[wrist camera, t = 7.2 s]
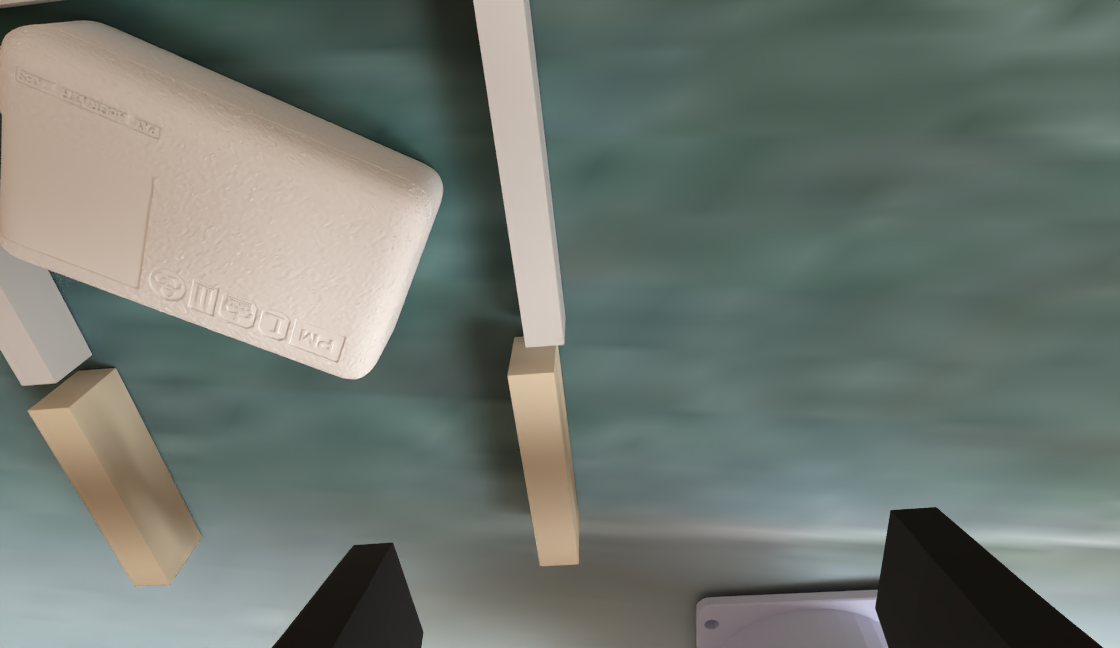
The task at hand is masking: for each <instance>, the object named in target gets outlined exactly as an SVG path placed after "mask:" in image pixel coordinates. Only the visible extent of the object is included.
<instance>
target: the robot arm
mask: <svg viewBox="0 0 1120 648" xmlns="http://www.w3.org/2000/svg"><path fill="white" fill-rule="evenodd" d="M422 638H423V630H422V627H421V624H420V621H419V618H418V615H417V612H416V609H415V606H414V603H413V600H412V597H411V594H410V591H409V588H408V585H407V583H406V580H405V577H404V574H403V571H402V568H401V565H400V562H399V559H398V556H397V553H396V550H395V547H394V544H393V543H380V544H365V545H354V546H353V547H352V548H351V549H350V550H349V552H348V553H347V554H346V555H345V556H344V558H343V559H342V560H341V561H340V563H339V564H338V565H337V566H336V568H335V569H334V570H333V571H332V573H331V574H330V575H329V577H328V578H327V579H326V580H325V582H324V583H323V584H322V585H321V587H320V588H319V589H318V591H317V592H316V593H315V594H314V596H313V597H312V598H311V600H310V601H309V602H308V603H307V605H306V606H305V607H304V608H303V610H302V611H301V612H300V613H299V615H298V616H297V617H296V618H295V620H294V621H293V622H292V624H291V625H290V626H289V627H288V629H287V630H286V631H285V632H284V634H283V635H282V636H281V637H280V638H279V640H278V641H277V642H276V643H275V645H274V646H273V647H272V648H421V645H422ZM696 648H1103V647H1102V646H1101V645H1099V644H1098V643H1097V642H1096V641H1094V640H1093V639H1092V638H1091V637H1089V636H1088V635H1087V634H1086V633H1084V632H1083V631H1082V630H1081V629H1080V628H1078V627H1077V626H1076V625H1075V624H1073V623H1072V622H1071V621H1070V620H1068V619H1067V618H1066V617H1065V616H1064V615H1062V614H1061V613H1060V612H1059V611H1057V610H1056V609H1055V608H1054V607H1053V606H1051V605H1050V604H1049V603H1048V602H1047V601H1045V600H1044V599H1043V598H1042V597H1041V596H1039V595H1038V594H1037V593H1036V592H1035V591H1034V590H1032V589H1031V588H1030V587H1029V586H1028V585H1026V584H1025V583H1024V582H1023V581H1022V580H1021V579H1019V578H1018V577H1017V576H1016V575H1015V574H1014V573H1012V572H1011V571H1010V570H1009V569H1008V568H1006V567H1005V566H1004V565H1003V564H1002V563H1001V562H999V561H998V560H997V559H996V558H995V557H994V556H992V555H991V554H990V553H989V552H988V551H987V550H986V549H984V548H983V547H982V546H981V545H980V544H979V543H977V542H976V541H975V540H974V539H973V538H972V537H970V536H969V535H968V534H967V533H966V532H965V531H963V530H962V529H961V528H960V527H959V526H958V525H956V524H955V523H954V522H953V521H952V520H951V519H949V518H948V517H947V516H946V515H945V514H943V513H942V512H941V511H940V510H939V509H938V508H936V507H933V508H917V509H902V510H891V511H890V518H889V524H888V530H887V536H886V543H885V549H884V555H883V561H882V568H881V574H880V580H879V586H878V590H857V591H835V592H813V593H791V594H769V595H747V596H725V597H708V598H704V599H702V600H700V601H699V602H698V603H697V606H696Z"/></svg>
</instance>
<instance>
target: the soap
mask: <svg viewBox="0 0 1120 648" xmlns="http://www.w3.org/2000/svg"><path fill="white" fill-rule="evenodd" d="M0 48H1V49H0V113H2V138H1V188H0V244H1V246H2V247H3V248H4V249H5V250H6V251H7V252H9V254H11V255H13V256H15V257H17V258H18V259H22V260H24V261H26V262H29V263H32V264H34V265H37V266H40V267H43V268H45V269H48V270H50V271H54V272H56V273H59V274H62V275H64V276H67V277H70V278H72V279H75V280H77V281H80V282H83V283H86V284H89V285H91V286H94V287H97V288H99V289H102V290H105V291H107V292H109V293H113V294H116V295H118V296H121V297H123V298H127V299H129V300H132V301H134V302H137V303H140V304H142V305H145V306H148V307H150V308H154V309H156V310H158V311H160V312H165V313H167V314H169V315H173V316H176V317H177V318H181V319H183V320H186V321H187V322H192V323H194V324H197V325H200V326H202V327H205V328H208V329H210V330H212V331H214V332H218V333H221V334H224V335H226V336H230V337H232V338H235V339H237V340H240V341H242V342H246V343H249V344H251V345H253V346H256V347H259V348H263V349H264V350H267V351H271V352H273V353H276V354H279V355H281V356H284V357H287V358H289V359H292V360H295V361H298V362H300V363H302V364H305V365H308V366H311V367H313V368H316V369H319V370H322V371H324V372H327V373H330V374H333V375H336V376H338V377H341V378H345V379H357V378H358V379H359V378H361V377H363V376H365V375H366V374H367V373H369V372H370V371H371V370H372V368H373V367H374V366H375V364H376V363H377V361H378V359H379V357H380V355H381V353H382V351H383V349H384V347H385V346H386V344H387V342H388V340H389V338H390V336H391V334H392V332H393V330H394V328H395V325H396V322H397V320H398V317H399V314H400V312H401V309H402V306H403V304H404V301H405V298H406V295H407V293H408V290H409V287H410V284H411V282H412V279H413V277H414V274H415V271H416V269H417V266H418V263H419V260H420V257H421V255H422V252H423V250H424V247H425V244H426V242H427V238H428V236H429V233H430V231H431V228H432V225H433V223H434V220H435V217H436V214H437V211H438V209H439V206H440V203H441V199H442V196H443V184H442V181H441V178H440V176H439V175H438V173H437V172H436V171H435V170H434V169H432V168H431V167H429V166H427V165H426V164H423V163H422V162H419V161H417V160H415V159H413V158H411V157H408V156H406V155H403V154H401V153H399V152H397V151H394V150H392V149H390V148H387V147H385V146H383V145H381V144H379V143H376V142H374V141H371V140H369V139H367V138H365V137H363V136H361V135H358V134H355V133H354V132H351V131H349V130H346V129H344V128H342V127H340V126H337V125H335V124H333V123H331V122H328V121H326V120H324V119H322V118H319V117H316V116H315V115H312V114H310V113H308V112H305V111H303V110H301V109H299V108H296V107H294V106H292V105H289V104H287V103H285V102H283V101H280V100H278V99H276V98H274V97H272V96H269V95H267V94H264V93H262V92H259V91H258V90H255V89H253V88H250V87H248V86H246V85H244V84H241V83H239V82H237V81H234V80H232V79H230V78H227V77H225V76H223V75H221V74H218V73H216V72H214V71H211V70H210V69H207V68H205V67H202V66H200V65H198V64H196V63H193V62H191V61H189V60H186V59H184V58H182V57H179V56H177V55H175V54H173V53H171V52H168V51H166V50H164V49H161V48H159V47H156V46H155V45H152V44H150V43H147V42H145V41H143V40H141V39H139V38H136V37H134V36H131V35H130V34H127V33H125V32H122V31H120V30H118V29H116V28H113V27H111V26H108V25H105V24H103V23H100V22H95V21H89V20H88V21H85V20H82V21H71V22H59V23H48V24H33V25H28V26H22V27H18V28H16V29H14V30H12V31H11V32H8V34H7V35H5V37H4V39H3V41H2V45H1V46H0Z"/></svg>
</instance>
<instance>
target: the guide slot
mask: <svg viewBox="0 0 1120 648" xmlns="http://www.w3.org/2000/svg"><path fill="white" fill-rule="evenodd" d="M507 376H508V382H509V388H510V394H511V400H512V406H513V411H514V417H515V423H516V429H517V435H518V441H519V447H520V452H521V458H522V464H523V470H524V476H525V482H526V487H527V493H528V499H529V505H530V511H531V517H532V523H533V528H534V534H535V540H536V546H537V552H538V558H539V563H540V566H556V565H576V564H579V511H578V503H577V495H576V487H575V479H574V471H573V463H572V455H571V446H570V438H569V430H568V422H567V414H566V406H565V398H564V390H563V382H562V373H561V365H560V357H559V349H558V345H554V346H541V347H527V348H526V346H525V340H524V336H522V337H514V343H513V348H512V354H511V359H510V364H509V370H508V375H507ZM28 412H29V414H30V416H31V417H32V419H33V421H34V422H35V424H36V426H37V427H38V429H39V430H40V432H41V434H42V435H43V437H44V439H45V440H46V442H47V444H48V445H49V447H50V448H51V450H52V452H53V453H54V455H55V457H56V458H57V460H58V462H59V463H60V465H61V466H62V468H63V470H64V471H65V473H66V475H67V476H68V478H69V480H70V481H71V483H72V484H73V486H74V488H75V489H76V491H77V493H78V494H79V496H80V498H81V499H82V501H83V502H84V504H85V506H86V507H87V509H88V511H89V512H90V514H91V516H92V517H93V519H94V520H95V522H96V524H97V525H98V527H99V529H100V530H101V532H102V534H103V535H104V537H105V538H106V540H107V542H108V543H109V545H110V547H111V548H112V550H113V552H114V553H115V555H116V556H117V558H118V560H119V561H120V563H121V565H122V566H123V568H124V570H125V571H126V573H127V575H128V576H129V578H130V579H131V581H132V583H133V584H134V586H155V585H170V584H171V583H172V581H173V580H174V578H175V577H176V575H177V574H178V572H179V571H180V569H181V568H182V566H183V565H184V563H185V562H186V560H187V559H188V557H189V556H190V554H191V553H192V551H193V550H194V548H195V547H196V545H197V544H198V543H199V541H200V540H201V538H202V536H201V534H200V532H199V530H198V528H197V526H196V524H195V522H194V520H193V518H192V516H191V514H190V512H189V510H188V508H187V506H186V504H185V502H184V500H183V498H182V496H181V494H180V492H179V491H178V489H177V487H176V485H175V483H174V481H173V479H172V477H171V475H170V473H169V471H168V469H167V467H166V465H165V463H164V461H163V459H162V457H161V455H160V453H159V451H158V449H157V447H156V446H155V444H154V442H153V440H152V438H151V436H150V434H149V432H148V430H147V428H146V426H145V424H144V422H143V420H142V418H141V416H140V414H139V412H138V410H137V408H136V406H135V404H134V402H133V401H132V399H131V397H130V395H129V393H128V391H127V389H126V387H125V385H124V383H123V381H122V379H121V377H120V375H119V373H118V371H117V369H116V368H108V369H95V370H82V371H77V372H76V373H75V374H73V375H72V376H71V377H70V378H68V379H67V380H66V381H64V382H63V383H62V384H61V385H59V386H58V387H57V388H56V389H54V390H53V391H52V392H51V393H49V394H48V395H47V396H45V397H44V398H43V399H42V400H40V401H39V402H38V403H37V404H35V405H34V406H33V407H31V408H30V409H29V410H28Z"/></svg>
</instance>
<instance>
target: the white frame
mask: <svg viewBox="0 0 1120 648" xmlns="http://www.w3.org/2000/svg"><path fill="white" fill-rule="evenodd" d="M56 1H64V0H0V8H8V7H16V6H24V5H32V4H40V3H48V2H56ZM473 3H474V9H475V16H476V23H477V29H478V36H479V42H480V49H481V56H482V62H483V69H484V75H485V82H486V89H487V95H488V102H489V109H490V115H491V122H492V128H493V135H494V142H495V148H496V155H497V161H498V168H499V175H500V181H501V188H502V194H503V201H504V208H505V214H506V221H507V227H508V234H509V241H510V247H511V254H512V261H513V267H514V274H515V280H516V287H517V294H518V300H519V307H520V313H521V320H522V327H523V333H524V340H525V346H526V348H527V347H541V346H554V345H564V337H565V309H564V301H563V292H562V283H561V274H560V266H559V257H558V248H557V240H556V231H555V222H554V213H553V205H552V196H551V187H550V178H549V170H548V161H547V152H546V143H545V135H544V126H543V117H542V108H541V100H540V91H539V82H538V73H537V65H536V56H535V47H534V38H533V30H532V21H531V12H530V3H529V0H473ZM0 188H1V180H0ZM0 350H1V352H2V353H3V355H4V357H5V358H6V360H7V362H8V363H9V365H10V367H11V368H12V370H13V372H14V373H15V375H16V377H17V378H18V380H19V382H20V383H21V385H22V386H27V385H40V384H53V383H57V382H58V381H60V380H61V379H62V378H63V377H65V376H66V375H67V374H69V373H70V372H71V371H72V370H74V369H75V368H76V367H78V366H79V365H80V364H81V363H83V362H84V361H85V360H87V359H88V358H89V357H90V356H92V353H91V351H90V349H89V347H88V345H87V343H86V341H85V340H84V338H83V336H82V334H81V332H80V330H79V328H78V326H77V324H76V322H75V321H74V319H73V317H72V315H71V313H70V311H69V309H68V307H67V305H66V303H65V302H64V300H63V298H62V296H61V294H60V292H59V290H58V288H57V286H56V284H55V282H54V281H53V279H52V277H51V275H50V273H49V271H48V269H45V268H43V267H40V266H37V265H34V264H32V263H29V262H26V261H24V260H22V259H18V258H17V257H15V256H13V255H11V254H9V252H7V251H6V250H5V249H4V248H3V247H2V246H1V244H0Z"/></svg>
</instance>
